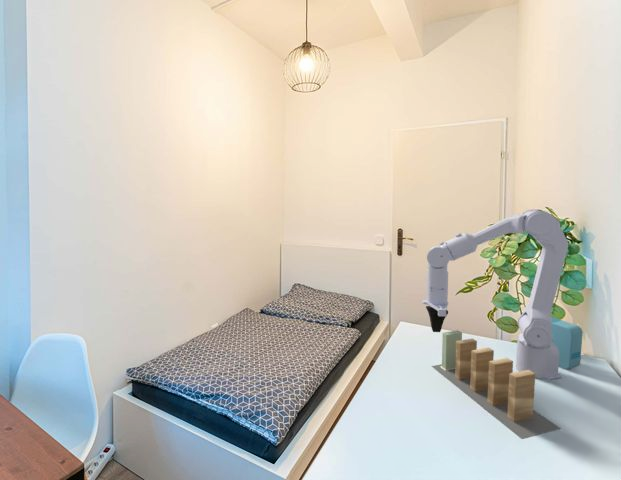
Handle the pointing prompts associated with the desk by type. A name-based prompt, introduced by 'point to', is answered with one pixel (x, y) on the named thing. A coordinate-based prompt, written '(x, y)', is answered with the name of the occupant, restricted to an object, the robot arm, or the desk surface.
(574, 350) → the light blue rounded block
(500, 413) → the board
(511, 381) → the domino
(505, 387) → the domino
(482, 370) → the domino
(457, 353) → the domino
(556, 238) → the robot arm
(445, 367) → the green domino
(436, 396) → the desk surface
